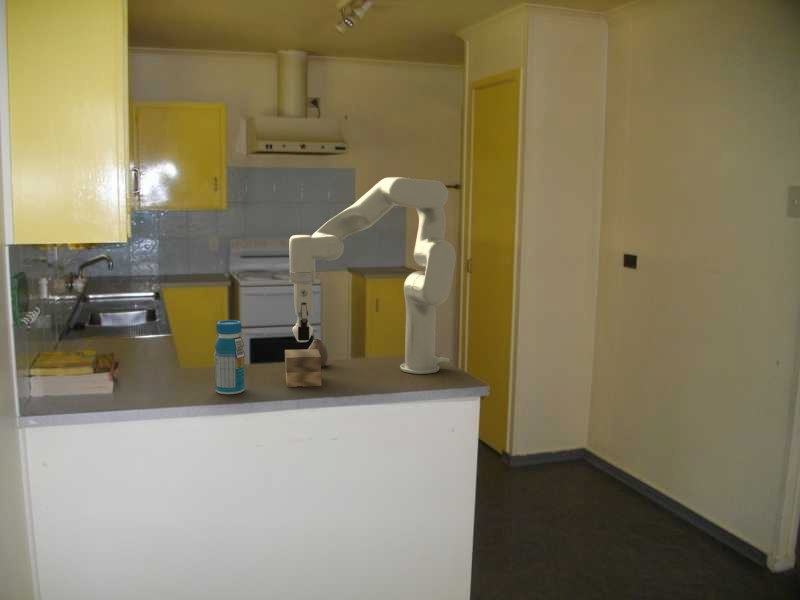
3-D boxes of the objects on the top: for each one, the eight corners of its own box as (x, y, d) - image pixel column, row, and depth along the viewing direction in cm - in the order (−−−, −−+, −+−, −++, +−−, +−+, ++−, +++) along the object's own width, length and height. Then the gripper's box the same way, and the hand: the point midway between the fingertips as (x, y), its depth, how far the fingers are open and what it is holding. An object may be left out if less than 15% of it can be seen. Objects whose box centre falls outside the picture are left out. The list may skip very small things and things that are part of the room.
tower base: (318, 377, 233) (318, 363, 232) (321, 386, 223) (321, 371, 222) (285, 378, 231) (285, 364, 230) (287, 387, 221) (287, 372, 220)
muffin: (312, 338, 228) (312, 315, 227) (313, 343, 222) (313, 319, 221) (291, 339, 227) (291, 316, 226) (292, 343, 221) (292, 320, 220)
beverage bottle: (217, 396, 210) (216, 325, 207) (212, 388, 218) (210, 320, 215) (248, 393, 214) (247, 323, 210) (241, 385, 221) (240, 318, 218)
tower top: (318, 363, 232) (318, 349, 231) (320, 371, 222) (321, 356, 221) (284, 364, 230) (284, 349, 229) (286, 372, 220) (286, 357, 219)
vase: (324, 369, 242) (324, 342, 241) (303, 367, 243) (303, 341, 242) (330, 364, 249) (330, 338, 247) (310, 362, 250) (310, 336, 249)
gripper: (318, 281, 214) (318, 343, 217) (313, 273, 231) (313, 331, 234) (291, 281, 213) (291, 344, 215) (288, 273, 229) (288, 332, 232)
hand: (302, 337), depth 224 cm, fingers closed on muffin, 6 cm apart
